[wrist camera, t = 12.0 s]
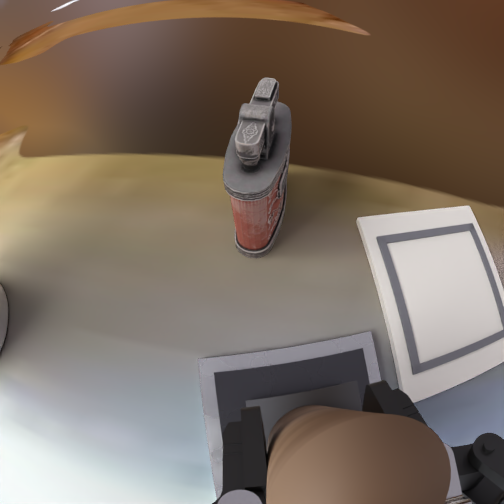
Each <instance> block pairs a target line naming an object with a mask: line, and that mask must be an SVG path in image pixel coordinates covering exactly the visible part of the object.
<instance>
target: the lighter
mask: <svg viewBox="0 0 504 504" xmlns="http://www.w3.org/2000/svg"><path fill="white" fill-rule="evenodd" d="M278 97H279V83H278V82H277V81H276V80H275V79H273V78H263V79H262V80H261V81H260V82H259V84H258V86H257V88H256V90H255V92H254V95H253V97H252V99H251V101H250V104H242V107H241V109H240V114H239V121H238V125H237V127H236V128H235V130H234V132H233V134H232V136H231V139H230V142H229V145H228V148H227V152H226V155H225V162H224V169H223V181H224V186H225V190H226V191H227V193H228V194H229V195H230V199H231V204H232V210H233V216H234V222H235V243H236V248H237V249H238V251H239V252H240V253H241V254H242V255H244V256H246V257H249V258H259V257H263V256H265V255H266V254H268V253H269V251H270V250H271V248H272V246H273V244H274V242H275V239H276V237H277V235H278V233H279V230H280V227H281V224H282V220H283V217H284V212H285V205H286V196H287V174H288V166H289V153H290V149H289V146H290V138H291V113H290V109H289V107H287V106H286V105H285V104H283V103H280V102H277V101H278Z"/></svg>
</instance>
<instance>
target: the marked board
mask: <svg viewBox="0 0 504 504" xmlns="http://www.w3.org/2000/svg"><path fill="white" fill-rule="evenodd" d="M356 224H357V226H358V229H359V232H360V235H361V239H362V242H363V245H364V248H365V251H366V254H367V257H368V261H369V264H370V267H371V271H372V274H373V278H374V281H375V285H376V288H377V292H378V296H379V299H380V303H381V307H382V311H383V315H384V319H385V323H386V327H387V331H388V336H389V340H390V344H391V349H392V354H393V358H394V363H395V368H396V374H397V379H398V384H399V389H400V390H401V391H403V392H404V393H406V394H407V395H408V396H409V397H410V399H411V400H412V402H413V403H415V402H417V401H420V400H423V399H425V398H428V397H431V396H433V395H436V394H438V393H440V392H443V391H445V390H447V389H450V388H452V387H454V386H457V385H459V384H461V383H463V382H465V381H467V380H470V379H472V378H474V377H476V376H478V375H480V374H482V373H484V372H486V371H488V370H490V369H491V368H493V367H495V366H497V365H499V364H501V363H502V362H504V290H503V286H502V283H501V280H500V278H499V275H498V272H497V269H496V266H495V264H494V261H493V258H492V256H491V253H490V251H489V248H488V246H487V243H486V241H485V239H484V236H483V234H482V232H481V229H480V227H479V225H478V223H477V221H476V218H475V216H474V214H473V212H472V210H471V208H470V206H460V207H450V208H440V209H430V210H421V211H411V212H402V213H393V214H384V215H375V216H367V217H358V218H357V220H356Z"/></svg>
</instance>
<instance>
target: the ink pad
mask: <svg viewBox="0 0 504 504" xmlns="http://www.w3.org/2000/svg"><path fill="white" fill-rule="evenodd" d="M198 367H199V377H200V386H201V395H202V403H203V411H204V419H205V427H206V434H207V441H208V448H209V455H210V461H211V467H212V474H213V480H214V485H215V491H216V497H217V499H218V498H219V497H220V495H221V493H222V488H223V432H224V430H225V428H226V426H227V424H228V422H237V421H241V408H243V407H246V401H247V400H253V399H261V398H268V397H275V396H282V395H288V394H294V393H299V392H305V391H310V390H315V389H320V388H325V387H330V386H334V385H339V384H343V383H347V382H352V381H357V382H358V388H359V394H360V400H361V406H362V407H363V400H364V393H365V387H366V385H367V384H371V383H375V382H378V381H381V377H380V371H379V366H378V361H377V356H376V352H375V347H374V342H373V338H372V333H371V331H369V332H365V333H361V334H356V335H351V336H347V337H342V338H337V339H332V340H327V341H322V342H317V343H311V344H306V345H300V346H294V347H288V348H282V349H275V350H268V351H261V352H254V353H247V354H239V355H230V356H221V357H212V358H201V359H198Z"/></svg>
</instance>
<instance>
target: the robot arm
mask: <svg viewBox="0 0 504 504" xmlns="http://www.w3.org/2000/svg"><path fill="white" fill-rule="evenodd" d="M7 324H8V302H7V298H6V294H5V291H4V289H3V287H2V286H1V284H0V351H1V348H2V346H3V343H4V339H5V336H6V331H7ZM362 411H363V412H372V413H382V414H393V415H400V416H405V417H409V418H412V419H415V420H417V421H419V422H421V423H423V424H425V425H426V426H427V424H426V423H425V421H424V419H423V418H422V416H421V415H420V413H418V412H419V411H418V410H417V408H416V407H415V406H414V404H413V402H412V400H411V399H410V397H409V396H408V395H407V394H406V393H404V392H403V391H401V390H400V389H395V390H391V388H390V386H389V385H388V383H387V382H386V381H385V380H382V381H378V382H375V383H371V384H367V385H366V387H365V393H364V400H363V407H362ZM443 444H444V446H445V448H446V450H447V452H448V456H449V459H450V466H451V480H450V487H449V491H448V495H447V498H446V501H445V503H444V504H504V439H502V438H501V437H499V436H498V435H496V434H493V433H485V434H482V435H480V436H479V437H478V438H477V439H476V440H475V442H474V443H473V444H469V445H464V446H458V447H449V446H448V445H447V444H445V443H443ZM266 488H267V446H266V439H265V432H264V426H263V420H262V415H261V409H260V406H252V407H243V408H241V421H237V422H228V424H227V426H226V428H225V430H224V432H223V488H222V493H221V495H220V497H219V498H218V499H217V500H216V501H215V502H214V503H212V504H266Z"/></svg>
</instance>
